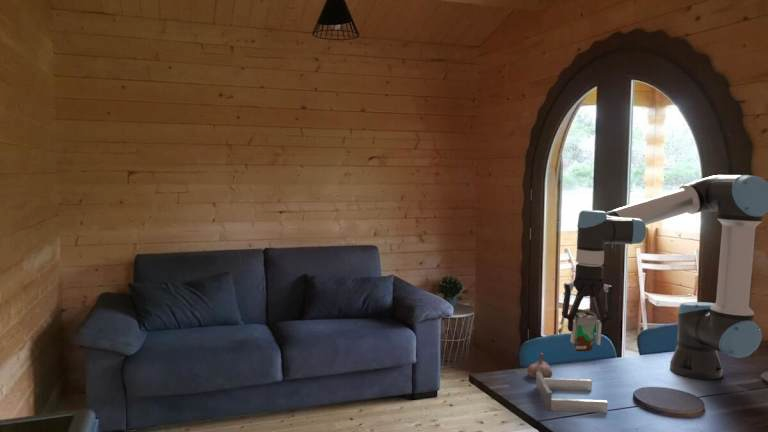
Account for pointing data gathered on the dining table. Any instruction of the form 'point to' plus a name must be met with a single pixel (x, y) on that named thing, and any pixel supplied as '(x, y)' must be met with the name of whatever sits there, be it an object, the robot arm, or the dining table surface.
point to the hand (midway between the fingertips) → (585, 342)
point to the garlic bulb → (540, 368)
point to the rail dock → (567, 404)
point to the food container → (584, 330)
